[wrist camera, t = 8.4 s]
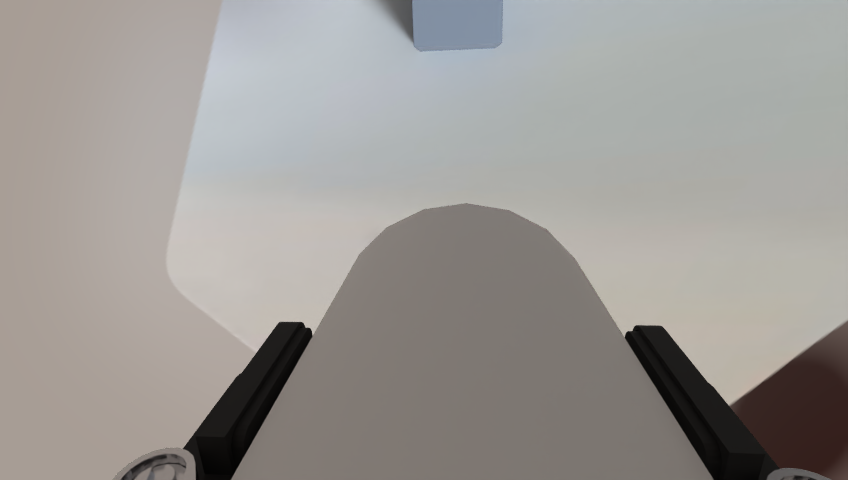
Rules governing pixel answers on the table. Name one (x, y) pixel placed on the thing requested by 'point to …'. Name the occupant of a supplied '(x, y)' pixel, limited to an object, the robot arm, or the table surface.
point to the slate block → (457, 24)
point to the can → (469, 369)
